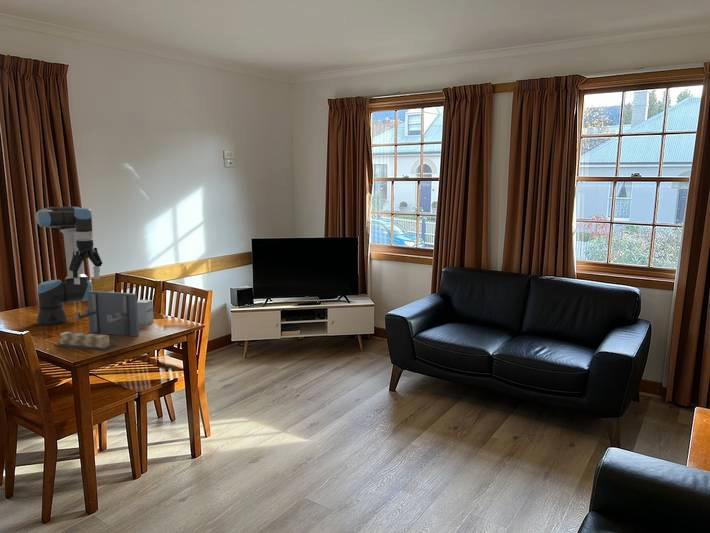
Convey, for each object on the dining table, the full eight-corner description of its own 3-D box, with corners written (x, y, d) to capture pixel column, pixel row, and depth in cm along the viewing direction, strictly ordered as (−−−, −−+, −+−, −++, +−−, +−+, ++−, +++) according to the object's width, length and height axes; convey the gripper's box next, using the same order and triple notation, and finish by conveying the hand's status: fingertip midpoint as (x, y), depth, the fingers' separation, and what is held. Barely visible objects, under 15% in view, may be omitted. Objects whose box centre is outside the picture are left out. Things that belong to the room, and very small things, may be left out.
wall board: (89, 332, 274) (87, 291, 271) (91, 331, 275) (89, 290, 272) (137, 336, 268) (134, 294, 264) (138, 335, 269) (136, 293, 266)
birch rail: (60, 343, 252) (59, 333, 251) (66, 341, 256) (66, 331, 255) (103, 347, 247) (103, 337, 246) (109, 345, 251) (108, 335, 250)
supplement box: (146, 325, 289) (145, 302, 287) (134, 324, 291) (133, 302, 289) (154, 321, 296) (153, 300, 294) (142, 320, 298) (141, 299, 296)
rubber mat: (53, 345, 251) (53, 344, 250) (66, 341, 258) (66, 339, 258) (104, 350, 245) (104, 349, 244) (116, 345, 252) (115, 344, 252)
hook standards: (76, 340, 260) (73, 299, 256) (96, 332, 273) (93, 293, 270) (111, 343, 255) (109, 301, 252) (130, 335, 269) (127, 295, 265)
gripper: (72, 243, 247) (75, 287, 251) (108, 237, 271) (110, 277, 275) (58, 242, 249) (61, 285, 253) (95, 236, 273) (98, 276, 277)
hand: (87, 281), depth 264 cm, fingers open, 13 cm apart
